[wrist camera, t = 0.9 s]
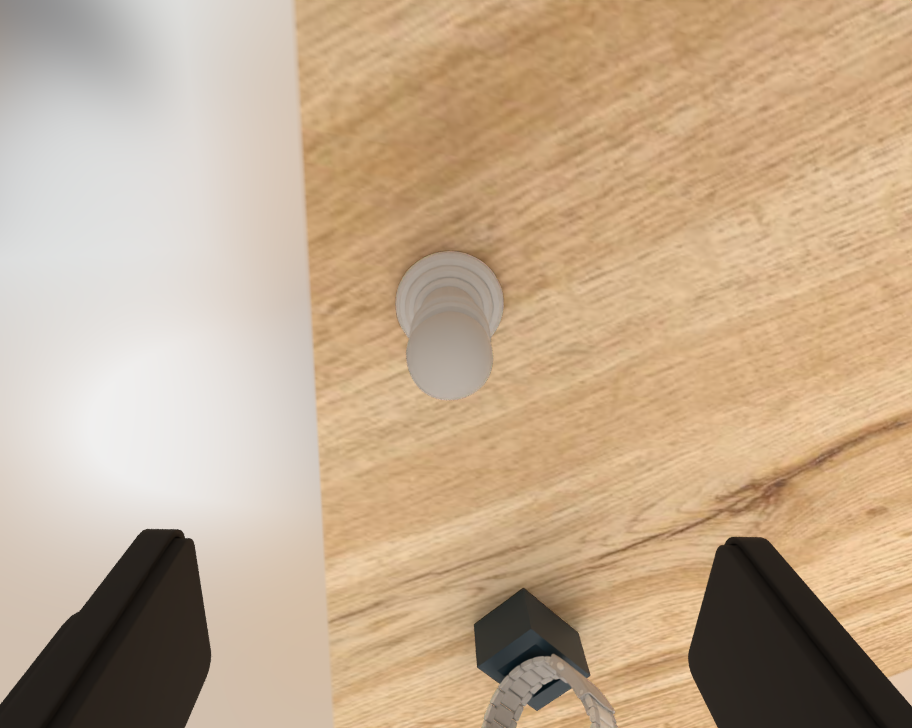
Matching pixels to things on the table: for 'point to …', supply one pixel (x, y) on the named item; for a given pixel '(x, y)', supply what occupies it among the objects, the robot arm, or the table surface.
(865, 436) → the table surface
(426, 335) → the chess piece
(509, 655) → the watch
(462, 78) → the table surface
